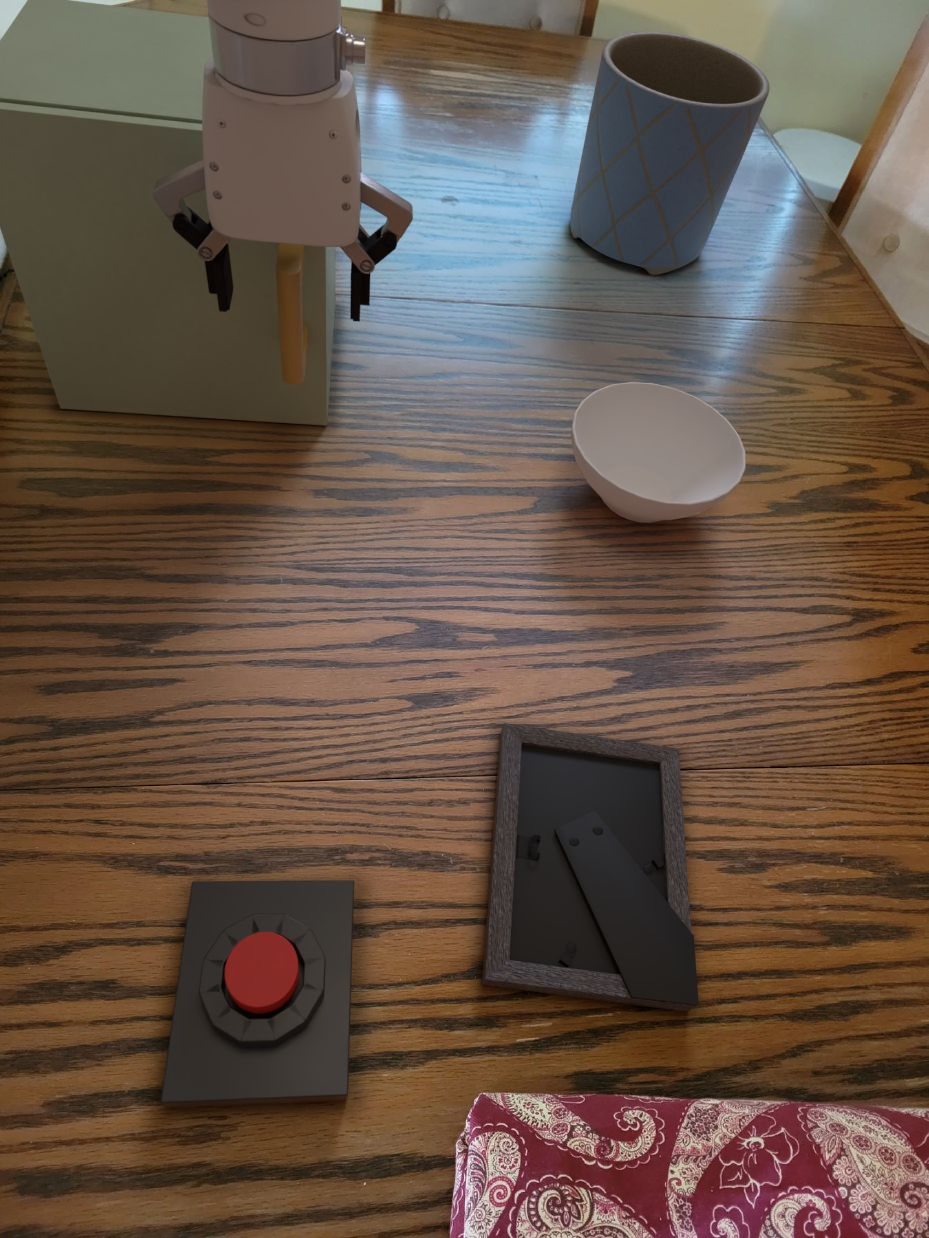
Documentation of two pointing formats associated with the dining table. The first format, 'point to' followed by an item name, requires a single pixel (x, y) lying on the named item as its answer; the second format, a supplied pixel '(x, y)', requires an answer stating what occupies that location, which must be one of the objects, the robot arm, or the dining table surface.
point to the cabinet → (116, 71)
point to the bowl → (655, 451)
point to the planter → (663, 146)
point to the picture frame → (589, 871)
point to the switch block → (272, 1042)
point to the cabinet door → (151, 278)
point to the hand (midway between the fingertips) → (291, 306)
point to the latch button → (262, 972)
